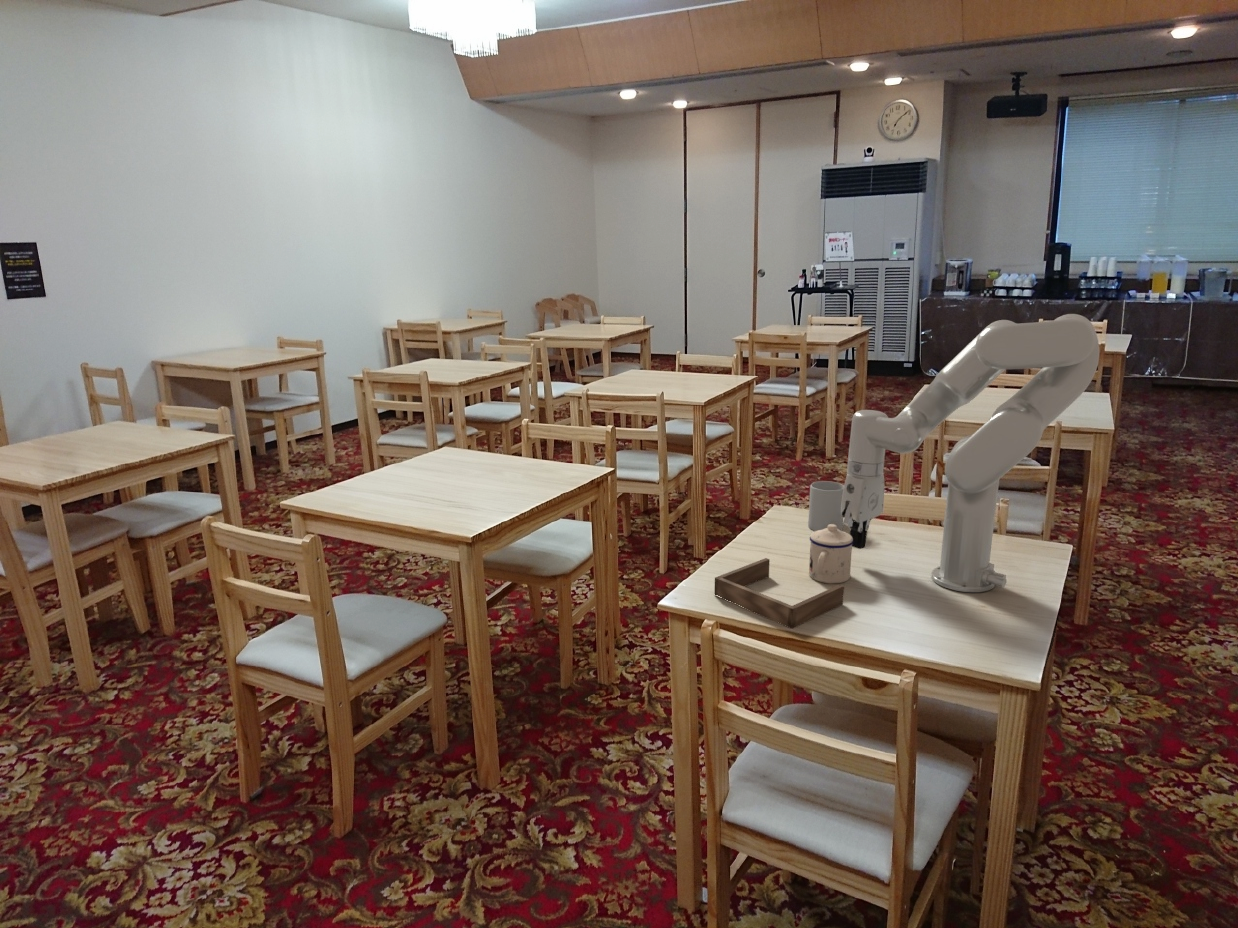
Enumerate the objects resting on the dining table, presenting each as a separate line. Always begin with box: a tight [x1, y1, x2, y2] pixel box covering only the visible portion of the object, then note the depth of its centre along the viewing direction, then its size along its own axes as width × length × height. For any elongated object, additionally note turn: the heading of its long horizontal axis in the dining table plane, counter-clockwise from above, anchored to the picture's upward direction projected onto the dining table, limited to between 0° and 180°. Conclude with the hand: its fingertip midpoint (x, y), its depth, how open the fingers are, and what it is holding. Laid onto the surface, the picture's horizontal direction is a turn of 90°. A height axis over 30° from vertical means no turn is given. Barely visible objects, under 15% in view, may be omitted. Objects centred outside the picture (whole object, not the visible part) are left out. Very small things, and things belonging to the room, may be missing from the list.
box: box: [713, 557, 845, 629], centre depth 172 cm, size 20×16×4 cm
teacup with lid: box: [808, 524, 853, 584], centre depth 181 cm, size 12×9×12 cm
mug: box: [807, 480, 845, 532], centre depth 213 cm, size 12×8×11 cm
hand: (856, 546), depth 189 cm, fingers closed
